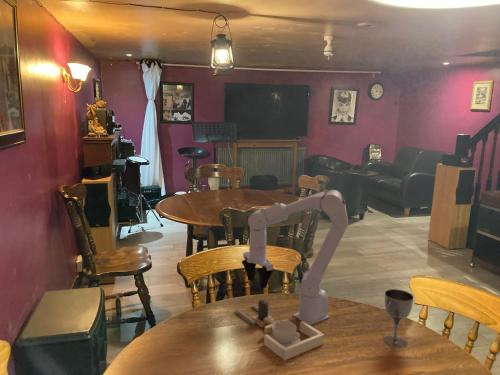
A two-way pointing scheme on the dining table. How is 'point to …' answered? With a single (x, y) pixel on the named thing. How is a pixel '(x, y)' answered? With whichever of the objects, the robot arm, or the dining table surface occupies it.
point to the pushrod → (265, 317)
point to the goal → (297, 348)
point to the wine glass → (397, 313)
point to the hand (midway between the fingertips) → (257, 283)
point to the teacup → (285, 333)
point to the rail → (248, 316)
